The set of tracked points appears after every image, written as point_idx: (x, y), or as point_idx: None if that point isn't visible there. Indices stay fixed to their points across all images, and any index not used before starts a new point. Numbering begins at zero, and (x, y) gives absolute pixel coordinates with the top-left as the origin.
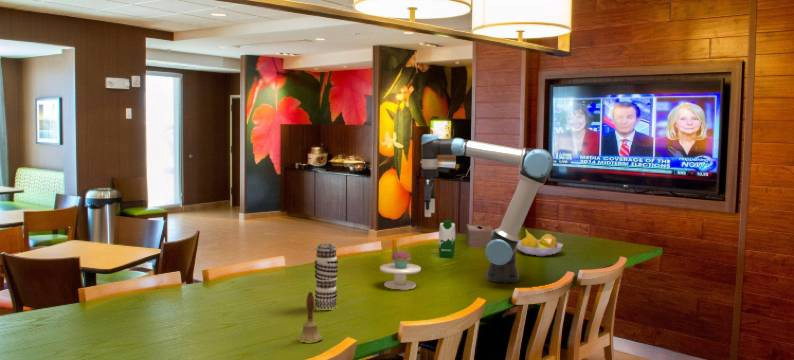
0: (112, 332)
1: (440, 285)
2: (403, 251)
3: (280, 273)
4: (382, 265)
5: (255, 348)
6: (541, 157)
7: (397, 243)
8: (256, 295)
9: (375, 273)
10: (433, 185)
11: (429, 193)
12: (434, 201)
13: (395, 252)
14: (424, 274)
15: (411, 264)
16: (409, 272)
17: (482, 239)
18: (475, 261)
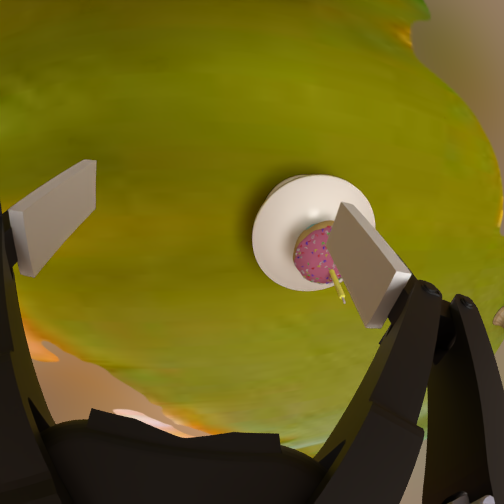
0: (419, 426)
1: (292, 102)
2: (318, 255)
3: (207, 407)
4: (290, 286)
5: (495, 345)
6: None
7: (344, 294)
8: (340, 403)
9: (167, 275)
10: (48, 460)
11: (491, 361)
12: (37, 197)
13: (323, 279)
14: (154, 144)
15: (274, 203)
16: (372, 214)
17: None
18: (2, 29)
